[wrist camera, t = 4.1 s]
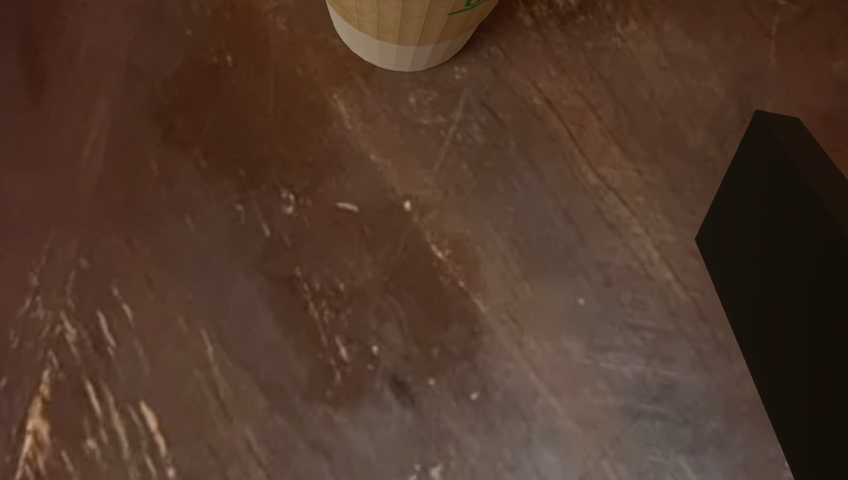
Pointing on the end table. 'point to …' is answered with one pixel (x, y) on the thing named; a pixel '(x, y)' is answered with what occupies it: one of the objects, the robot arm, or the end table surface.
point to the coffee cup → (407, 29)
